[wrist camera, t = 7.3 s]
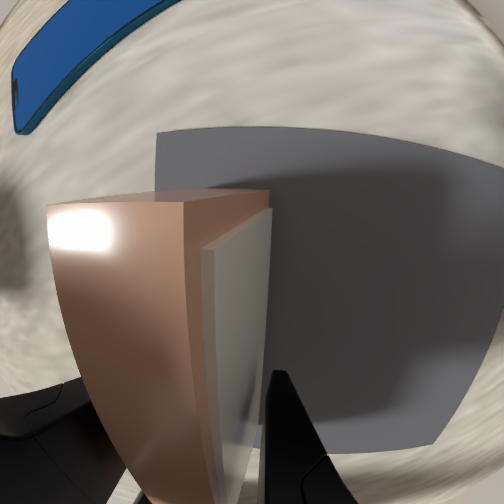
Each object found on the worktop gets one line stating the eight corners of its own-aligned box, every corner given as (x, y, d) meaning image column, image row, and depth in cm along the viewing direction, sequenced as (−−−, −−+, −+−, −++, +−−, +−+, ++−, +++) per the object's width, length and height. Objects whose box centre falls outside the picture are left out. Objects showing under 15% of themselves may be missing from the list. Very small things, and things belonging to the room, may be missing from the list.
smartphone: (261, -40, 6) (15, 143, 9) (265, -28, 7) (27, 143, 10) (201, -81, 5) (11, 64, 8) (206, -73, 6) (20, 66, 9)
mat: (431, 439, 10) (432, 444, 9) (184, 426, 12) (181, 431, 12) (518, 176, 6) (524, 176, 6) (162, 134, 9) (156, 132, 8)
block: (259, 425, 10) (227, 537, 5) (213, 417, 11) (166, 520, 5) (274, 190, 8) (198, 202, 2) (206, 187, 8) (45, 205, 3)
